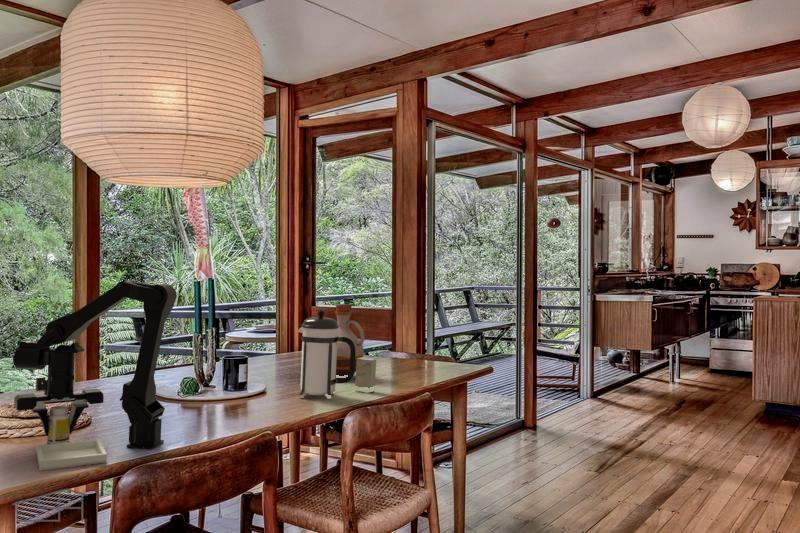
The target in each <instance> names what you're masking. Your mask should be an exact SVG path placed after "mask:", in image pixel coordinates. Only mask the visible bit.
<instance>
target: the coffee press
mask: <svg viewBox="0 0 800 533" xmlns="http://www.w3.org/2000/svg"><path fill="white" fill-rule="evenodd" d="M324 314H325V312H324V310H323V309H320V310H318V312H317V315H318V316H312V317H307V318H306V319H304V321H303V323H302V324H301V327H300V328H299V329H298V330H297V333H301V334H302V335H301V341H302V342H301V366H300V393H299V394H298V396H299V395H302V396H303V395H304V394H309V395H311V396H324V395H325V394H328V395H332V394H331V393H333V392H334V391H336V384H347V383H350V382H351V380H352V379H353V378H354V376H355V373H356V372H355V345H354V343H353V341H352V340H351V339H349V338H347V337H338V336H337V333H338V328H339V325H338V323H337V319H334V318H331V317H328V316H327V317H324ZM337 341H340V342H346V343H347V344H348V345H349V346H350V373H349V375H348V377H346V378H336V357H337ZM354 372H355V373H354ZM309 395H308V396H309Z"/></svg>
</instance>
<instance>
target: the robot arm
mask: <svg viewBox="0 0 800 533" xmlns="http://www.w3.org/2000/svg"><path fill="white" fill-rule="evenodd" d="M177 295H178V294H177V291H176V289H175V288H174V287H173V286H172V285H171V284H167V283H158V284H146V283H141V282H134V281H133V280H121V281H118V282H117V283H116V285H115V286H113V287H111V288H109V289H108V290H107V291H104V293H102V294H101V295H99V296H98V297H96V298H95V299H93V300H92V301H90V302H89V303H87V304H85V305H84V306H82V307H81V308H80V309H78V310H76V311H74V312H73V311H72V312H71V313H69V314H66V315H63V316H60V317H59V318H56V319H54V320H51V321H50V322H48V323H47V325H46V326H45V332H44V333H43V334H42V335H41V337H40V338H39V339H38V340H37V341H30V340H20V341H19V342H18V346H17V348H16V349H15V352H14V354H13V356H12V363H13V364H12V365H14V368H16V369H19V370H37V371H38V370H39V371H41V370H42V371H43V370H44V369H45V368H46V367H47V378H46V377H36V378H35V392H43V395H44V396H36V395H35V393H23V394H19V393H18V394H17V395H16V396H15V397H14V398H13V399H14V402H13V404H14V405H13V407H14V408H15V410H16V411H28V410H29V411H32V413H34V414H36V413H37V415H38V417H39V420H40V423H41V425H42V428H43V431H44V434H45V435H44V436H46V437H47V436H48V431H49V429H48V417H49V416H48V415H49V414H48V408H47V407H46V405H49V404H60V403H70V404H71V407H70V409H71V410H70V434H72V433H73V432H74V428H75V426H76V424H77V422H78V420H79V418H80V416H81V415H82V413H83V411H84V410H85V409H88V408H89V406H90V405H95V404H103V403H104V398H105V396H104V392H102V391H101V390H100V389H99V388H87V389H86V388H85V389H82V391H81V393H74V391H75V390H74V388H75V387H74V385H75V360H76V359H75V358H76V354H78V353H83V352H84V351H85V348H84V347H83V346H82V345H80V344H79V342H78V341H77V342H76V341H75V342H72V341H74V340H76V339H78V338H79V337H80V336H81V335H82V334H83V333H84V332H85V331H86V330H87V328H88V327H89V325H91V323H92V322H94V321H95V320H97V319H99V318H101V317H102V316H103V315H104V314H106V313H107V312H109V311H111V310H112V309H114V308H116V306H118V305H119V304H122V303H123V302H125V300H127V299H131V300H133V301H137V302H142V303H143V314H144V317H145V323H144V327H143V332H142V335H141V340H140V346H139V350H138V356H137V361H136V366H135V370H134V376H133V378H132V380H128V381H127V382H125V383H123V385H122V394H121V397H120V398H119V402H121V408H122V410H123V411H124V412H125V413H126V414H127V417H128V418H127V419H128V421H129V424H130V425H129V426H128V427H129V428H128V444H126V447H127V448H135V449H145V450H146V449H147V450H148V449H149V450H152V449H154V448H156V447H157V446H160V445H161V444H163V443H164V442H165V439H161V438H162V422H163V421H162V418H160V417H163V414H164V412H165V406H164V405H162V404H161V402H160V401H158V399H157V394H156V393H157V385H156V382H155V373H156V368H157V364H158V363H157V362H158V357H159V355H160V354H159V352H160V348H161V344H162V338H163V335H164V329H165V325H166V321H167V319H168V317H169V316H170V314H171V312H172V310H173V308H174V306H175V303H176V301H177ZM68 342H69V343H70V342H72V343H71V344H64V343H68ZM57 345H58V346H57ZM52 346H56V348H55V347H53V348H52ZM88 403H89V404H90V405H89V404H88Z"/></svg>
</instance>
